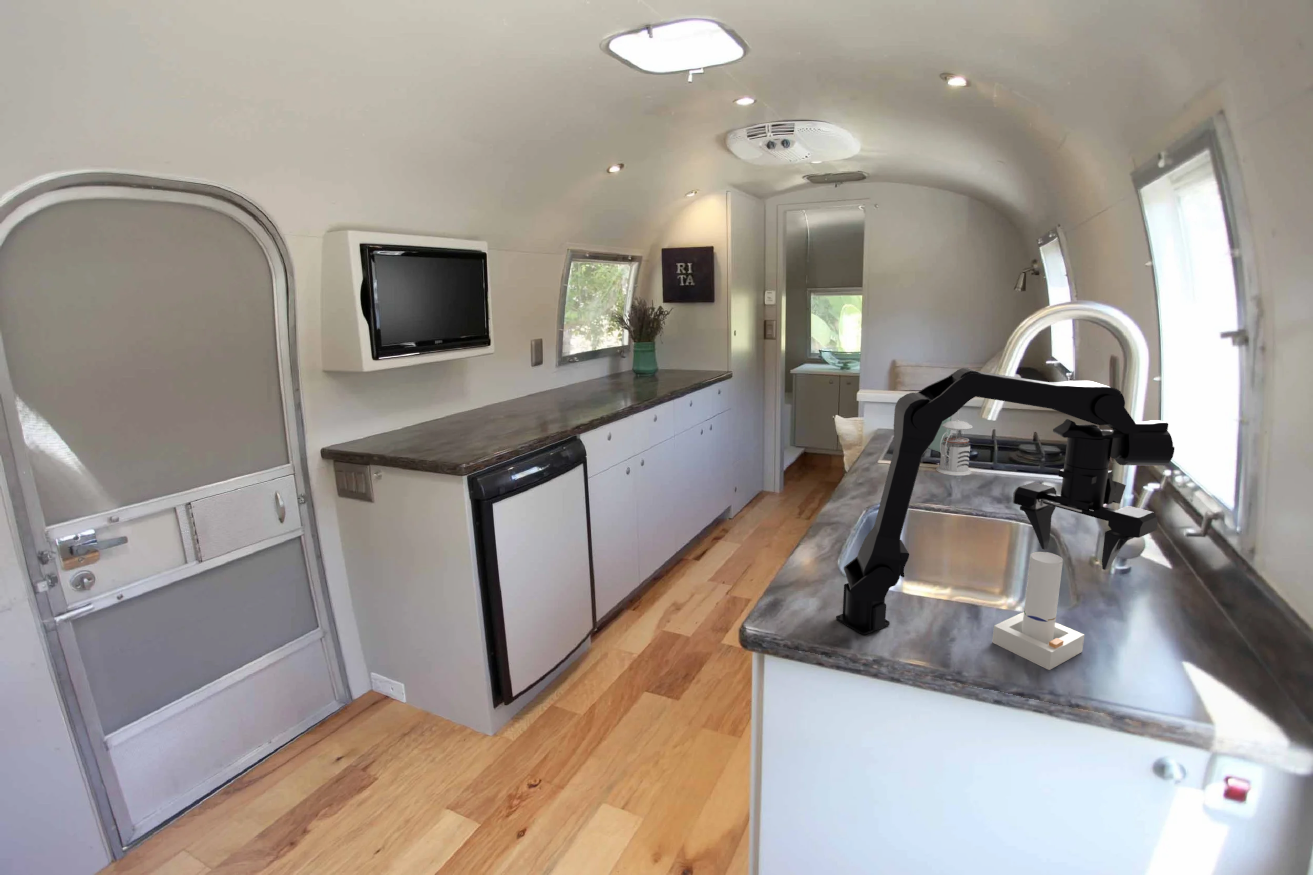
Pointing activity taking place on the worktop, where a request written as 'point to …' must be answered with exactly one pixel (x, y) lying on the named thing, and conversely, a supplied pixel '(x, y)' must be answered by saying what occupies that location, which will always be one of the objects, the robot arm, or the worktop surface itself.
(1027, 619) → the tube
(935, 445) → the planter
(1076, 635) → the white hollow square block
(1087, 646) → the worktop surface
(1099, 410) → the robot arm
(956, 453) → the french press
